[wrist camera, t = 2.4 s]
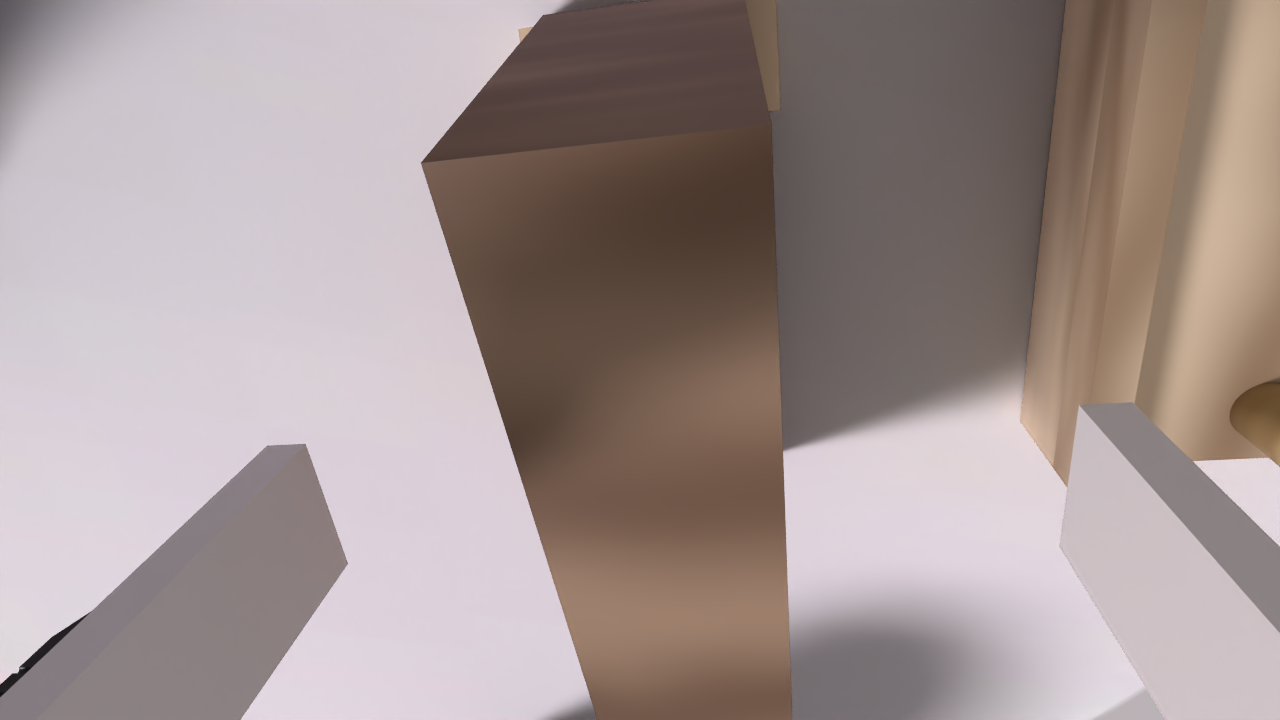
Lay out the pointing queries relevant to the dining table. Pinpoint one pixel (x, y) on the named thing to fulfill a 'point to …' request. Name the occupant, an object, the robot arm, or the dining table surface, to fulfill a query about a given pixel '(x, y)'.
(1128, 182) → the ledge
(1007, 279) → the dining table surface
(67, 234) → the dining table surface
